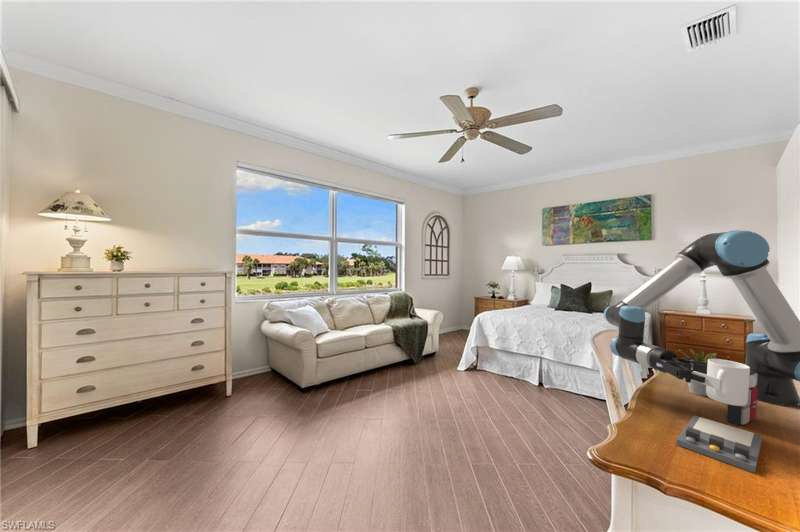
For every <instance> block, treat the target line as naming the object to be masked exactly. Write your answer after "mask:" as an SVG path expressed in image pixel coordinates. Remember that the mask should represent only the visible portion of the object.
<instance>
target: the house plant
mask: <svg viewBox="0 0 800 532" xmlns="http://www.w3.org/2000/svg"><path fill="white" fill-rule="evenodd" d="M675 351H677V352H679V353H680V354H681V355H684V356H685V357H686V358H687V360H688V359H692V358H691V357H690V356H689V355H688V354H687V353H685V352H683V351H680V350H675ZM689 352H690V353H691V354H692V356H693V360H696V361H700V362H705V363H708V359H716V356H717V354H718V352H714V353H708V354H706V355H705V354H704V352H705V351H704V350H703V351H702V352H701V354H700V355H699V354H698V353H695V351H694V350H692V349H691V348H689ZM704 355H705V356H704ZM717 359H720V358H719V357H718V358H717ZM691 370H693V368H691ZM699 373H700V372H699ZM702 374H705V373H702ZM706 375H707V374H706ZM687 384H688V391H689V393H691V392H692V393H691V394H693V393H694V394H693V395H696V394H697V395H696V396H702V397H708V396H707V394H706V385H703V384H701V383H698V382H695V381H692V379H691V383H688V382H687Z"/></svg>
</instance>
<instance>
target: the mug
mask: <svg viewBox="0 0 800 532" xmlns="http://www.w3.org/2000/svg"><path fill="white" fill-rule="evenodd" d="M707 375H709V376H712V377H715V378H718V379H721V380H722V389H721V390H718V389H715V388H712V387H709V386H706V394H707V396H706V397H708V398H709V399H711V400H714V401H716V402H718V403H722V404H727V405H728V404H730V405H736V406H744V405H746V404H747V402H748V390H749V376H750V367H749V366H747V365H745V363H740V362H737V361H733V360H727V359H722V358H721V359H720V358H719V359H718V358H714V359H712V358H711V359H708V365H707Z"/></svg>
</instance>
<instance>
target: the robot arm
mask: <svg viewBox="0 0 800 532" xmlns="http://www.w3.org/2000/svg"><path fill="white" fill-rule="evenodd" d="M770 250H771V248H770V244H769V242H768V241H767V240H766V238H764V236H762V235H760V234H758V233H757V232H754V231H750V230H729V231H725V232H713V233H708V234H705V235H703V236H700V237H698V238H697V239H695V240H694V241H693V242H692V243H690V244H689V245H688V246H686V247H684V248H683V249H682V250H680V251H679V252H678V253H677V254H676V255H675V256H674V257H675V259H674V260H672V261H671V262H670V263H668V264H667V265H665V266H664V267H663V268H662V269H660V270H659V271H658V272H656V274H654V275H653V276H652V277H650V278H649V279H648V280H647V281H645V282H644V283H642V284H641V285H639V287H638V288H636V289H635V290H634V291H632V292H631V293H629V294H628V295H627V296H626V297H625V298H623V299H622V300H620V301H619V302H617V303H616V304H615V305H609V306H607V307H606V308H605V309H604V311H603V317H604V318H603V319H605V320H606V321H607V323H609V324H610V325H612V326H615V327H617V328H618V335H617V336H614V337H613V338H612V339H611V342H610V344H609V348H610V349H609V350H610V351H611V353H612V354H613V355H615V356H617V357H619V358H621V359H623V360H627V361H629V362H634V363H636V364H639V365H642V366H645V368H646V369H654V370H656V371H659V372H661V373H666V374H669V375H671V376H673V377H675V378H677V379H679V380H684V379H685V383H687V384H688V383H691V379H692V381H695V382H698V383H701V384H703V385H706V386H709V387H712V388H715V389H718V390H721V389H722V380H721V379H718V378H715V377H712V376H709V375H706V374H707V365H708V363H705V362H700V361H696V360H695V359H694V358H693V359H692V358H691V359H688V358H687V359H686V358H684V357H683V358H682V357H677V355H676V353H675V352H674V350H671V349H667V348H663V347H660V346H657V345H654V344H649V343H647V342H644V341H645V340H644V339H645V337H644V336H645V325H646V324H645V323H646V310H647V308H649V307H650V306H652V305H653V304H654V303H656V302H657V301H659V300H660V299H661V298H663V297H664V296H665V295H667V294H669V292H671V291H672V290H674V289H675V288H676V287H677V286H679V285H680V284H681V283H683V282H684V281H686V280H687V279H688V278H690V277H691V276H692V275H694V274H701V273H702V272H703V271H705V270H706V269H708V268H711V267H713V266H716V268H718V270H719V272H720V273H721V275H722V276H723V277H725V278H727V279H728V278H729V279H731V280H732V282H733V283H734V285H735V287H736V288H737V290H738V291H739V293H740V294H741V296H742V298H743V299H744V301H745V302H746V304H747V305H748V307H749V308H750V310H751V312H752V313H753V315H754V317H755V319H756V320H757V321H758V323H759V325H760V326H761V328H762V329H763V332H765V333H757V332H755V333H754V332H753V333H749V334H747V337H746V341H745V344H746V345H745V361H744V362H745V363H744V365H747V366H749V367H750V370H752V371H756V372H757V374H758V376H757V385H756V387H758V392H757V401H761V402H765V403H769V402H770V403H769V404H774V403H776V404H775V405H779V404H784V405H783V406H787V405H797V406H799V405H800V404H799V403H800V396H799V394H798V390H797V387H796V384H795V383H794V381H796V382H797V381H798V382H799V383H800V319H799V317H798V316H797V315H796V312H795V311H794V310H793V308H792V307H791V305H790V303H789V302H788V301H787V298H786V297H785V296H784V294H783V293H782V291H781V290H780V289H779V286H778V285H777V283H776V282H775V281H774V278H773V277H772V276H771V274H770V273H769V271H768V270H767V267H768V266H769V264H770V260H769V259H768V257H769V252H770ZM692 368H693V369H692ZM691 369H692V370H691ZM699 372H700V373H699ZM702 373H705V374H702ZM755 380H756V377H753V376H749V386H750V387H755ZM798 404H799V405H798Z"/></svg>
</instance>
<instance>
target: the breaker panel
mask: <svg viewBox="0 0 800 532" xmlns="http://www.w3.org/2000/svg"><path fill="white" fill-rule="evenodd" d="M762 443H763V435H762V434H761V435H760V434H758V433H755V432H752V431H748V430H745V429H741V428H740V427H739V428H738V427H735V426H732V425H728V424H725V423H721V422H718V421H715V420H712V419H708V418H705V417H700V416H698V415H693V416H692V417H691V418H690V420H689V421H688V422H687V424H686V426H684V428H683V429H682V430H681V432H680V434H679V435H678V436H677V438H676V446H678V447H681V448H683V449H687V450H690V451H693V452H695V453H698V454H701V455H704V456H706V457H709V458H711V459H715V460H718V461H721V462H723V463H725V464H728V465H731V466H733V467H737V468H739V469H743V470H745V471H748V472H750V473H753V474H756V470H757V466H758V462H759V456H760V451H761V447H762Z"/></svg>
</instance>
